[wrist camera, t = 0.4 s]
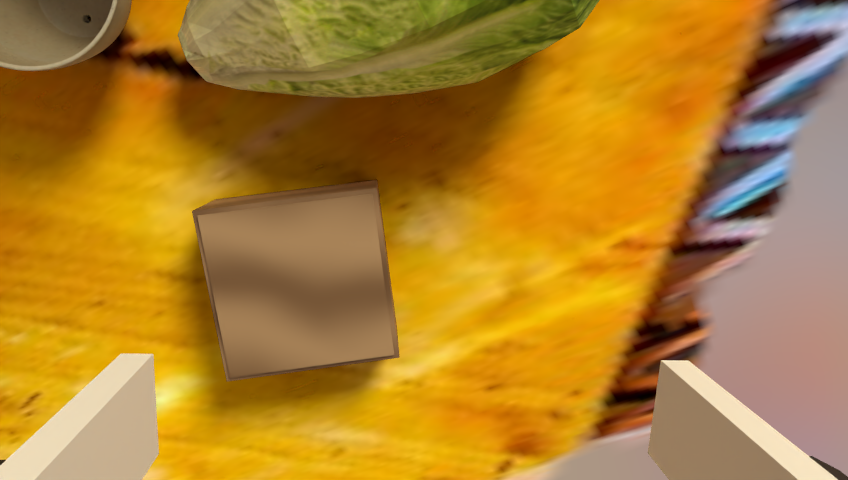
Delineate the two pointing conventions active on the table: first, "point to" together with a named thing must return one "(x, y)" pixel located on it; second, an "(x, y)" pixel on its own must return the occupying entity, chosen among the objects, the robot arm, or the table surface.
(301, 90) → the lettuce
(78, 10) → the flower pot
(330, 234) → the walnut block
